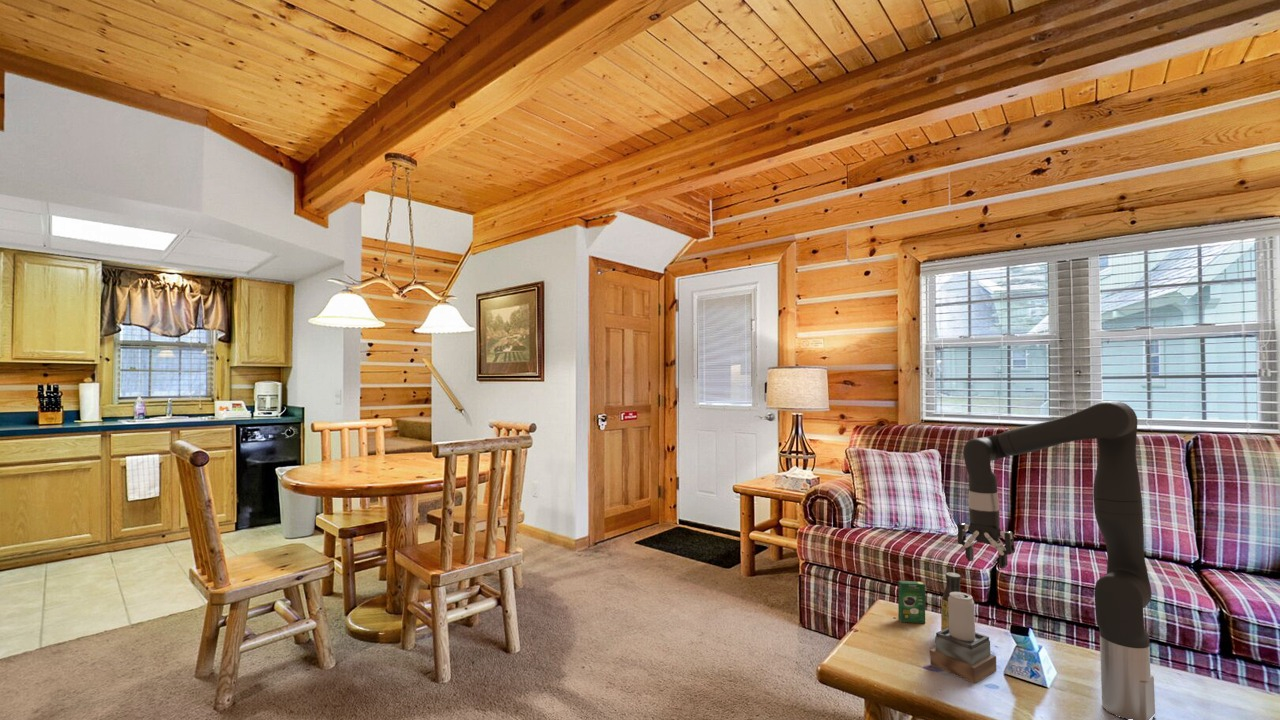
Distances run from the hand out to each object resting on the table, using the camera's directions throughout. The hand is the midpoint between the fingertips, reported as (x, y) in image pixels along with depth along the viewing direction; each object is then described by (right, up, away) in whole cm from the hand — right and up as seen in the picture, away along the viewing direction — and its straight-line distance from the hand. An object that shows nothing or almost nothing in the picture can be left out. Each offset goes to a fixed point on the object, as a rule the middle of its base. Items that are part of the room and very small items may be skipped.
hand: (986, 564), depth 162 cm
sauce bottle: (-2, -29, +14) cm, 32 cm away
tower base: (-9, -28, -4) cm, 29 cm away
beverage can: (-9, -20, -4) cm, 22 cm away
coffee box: (-9, -29, +26) cm, 40 cm away
